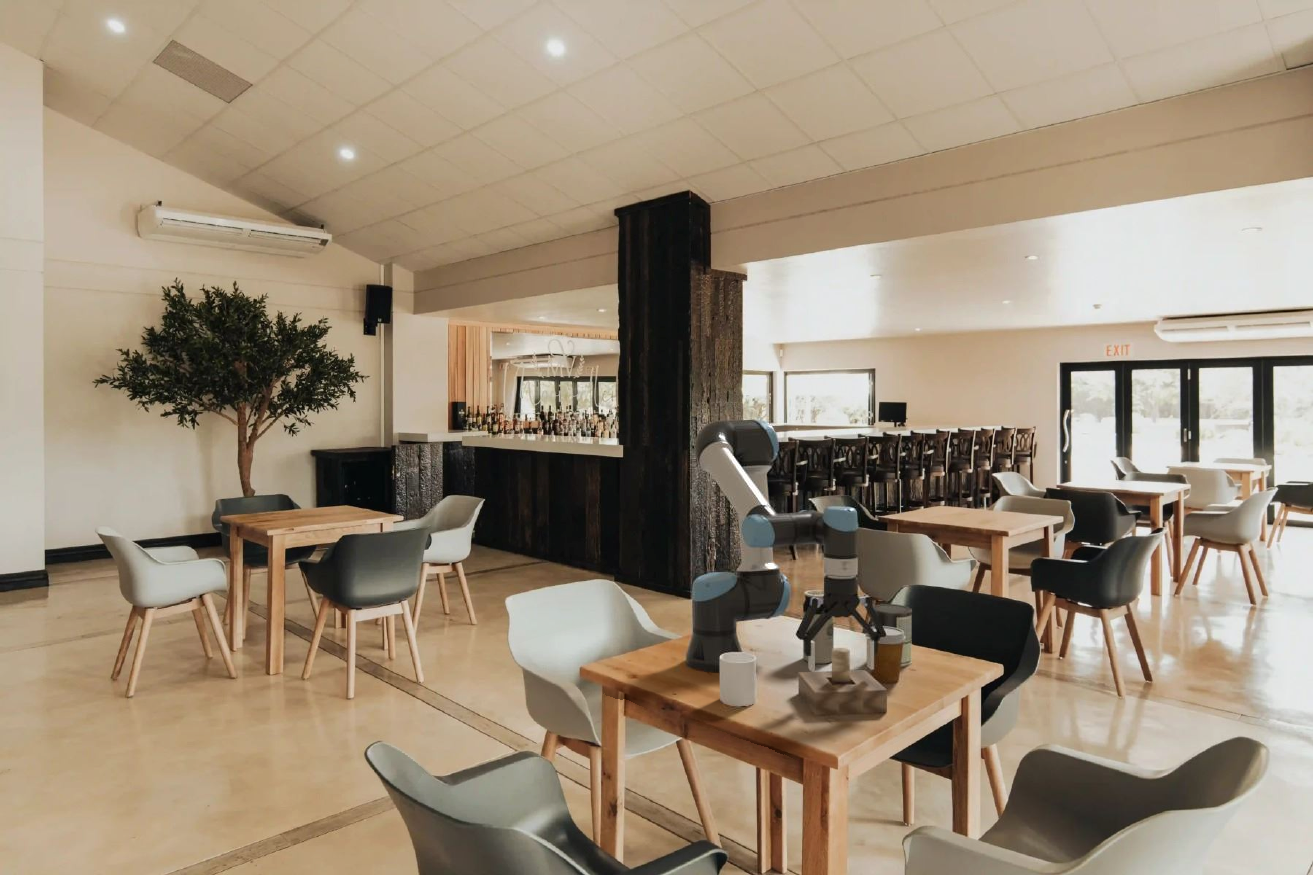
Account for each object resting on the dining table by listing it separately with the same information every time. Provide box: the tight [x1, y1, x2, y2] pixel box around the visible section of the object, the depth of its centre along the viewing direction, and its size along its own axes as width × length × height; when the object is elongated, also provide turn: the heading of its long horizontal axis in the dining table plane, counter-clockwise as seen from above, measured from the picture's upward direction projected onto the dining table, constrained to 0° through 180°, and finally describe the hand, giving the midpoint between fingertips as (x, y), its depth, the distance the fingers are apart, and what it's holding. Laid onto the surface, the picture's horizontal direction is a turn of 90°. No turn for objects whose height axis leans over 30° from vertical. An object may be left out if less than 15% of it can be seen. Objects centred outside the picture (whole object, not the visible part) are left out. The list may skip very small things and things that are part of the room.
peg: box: [831, 647, 851, 685], centre depth 180 cm, size 4×4×12 cm
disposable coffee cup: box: [865, 626, 906, 684], centre depth 197 cm, size 10×10×12 cm
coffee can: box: [871, 603, 913, 668], centre depth 211 cm, size 10×10×14 cm
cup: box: [719, 651, 757, 707], centre depth 184 cm, size 8×12×10 cm
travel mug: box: [802, 589, 835, 665], centre depth 213 cm, size 8×8×18 cm
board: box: [797, 669, 888, 716], centre depth 180 cm, size 16×14×5 cm
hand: (841, 668), depth 180 cm, fingers open, 13 cm apart
